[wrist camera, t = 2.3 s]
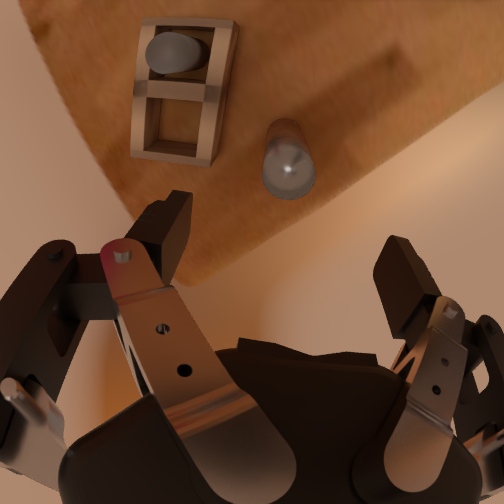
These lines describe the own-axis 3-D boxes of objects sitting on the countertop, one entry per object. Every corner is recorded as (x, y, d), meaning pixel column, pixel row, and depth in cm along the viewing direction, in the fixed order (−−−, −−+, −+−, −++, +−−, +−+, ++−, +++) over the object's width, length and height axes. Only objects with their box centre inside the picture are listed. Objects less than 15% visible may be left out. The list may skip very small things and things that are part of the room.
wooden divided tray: (159, 22, 19) (125, 13, 13) (239, 26, 19) (227, 14, 14) (145, 145, 26) (114, 169, 20) (217, 155, 26) (201, 182, 21)
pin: (271, 115, 23) (268, 145, 15) (305, 123, 24) (321, 157, 16) (264, 147, 25) (257, 194, 17) (297, 154, 25) (307, 204, 17)
